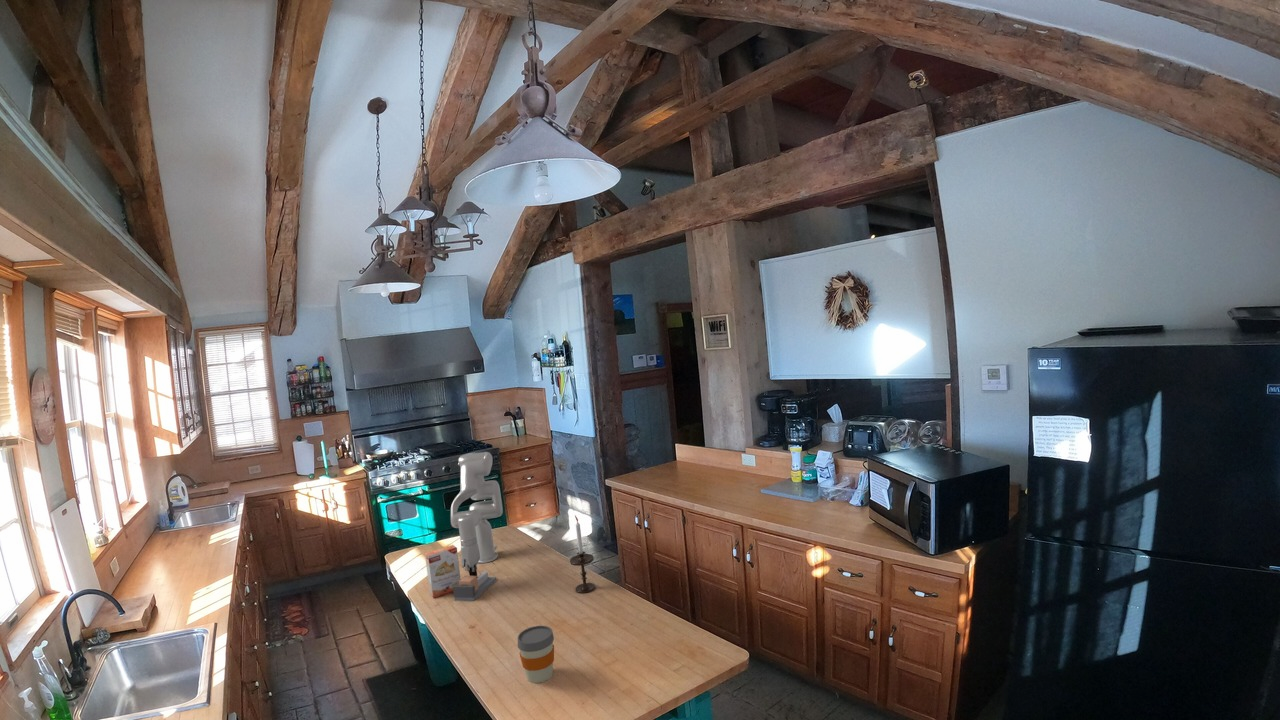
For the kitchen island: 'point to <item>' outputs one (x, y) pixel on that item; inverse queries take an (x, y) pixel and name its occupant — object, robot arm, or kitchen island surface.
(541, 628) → the reusable coffee cup
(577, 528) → the candlestick
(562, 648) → the kitchen island surface
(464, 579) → the slider
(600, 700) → the kitchen island surface
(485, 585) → the track
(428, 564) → the cracker box
